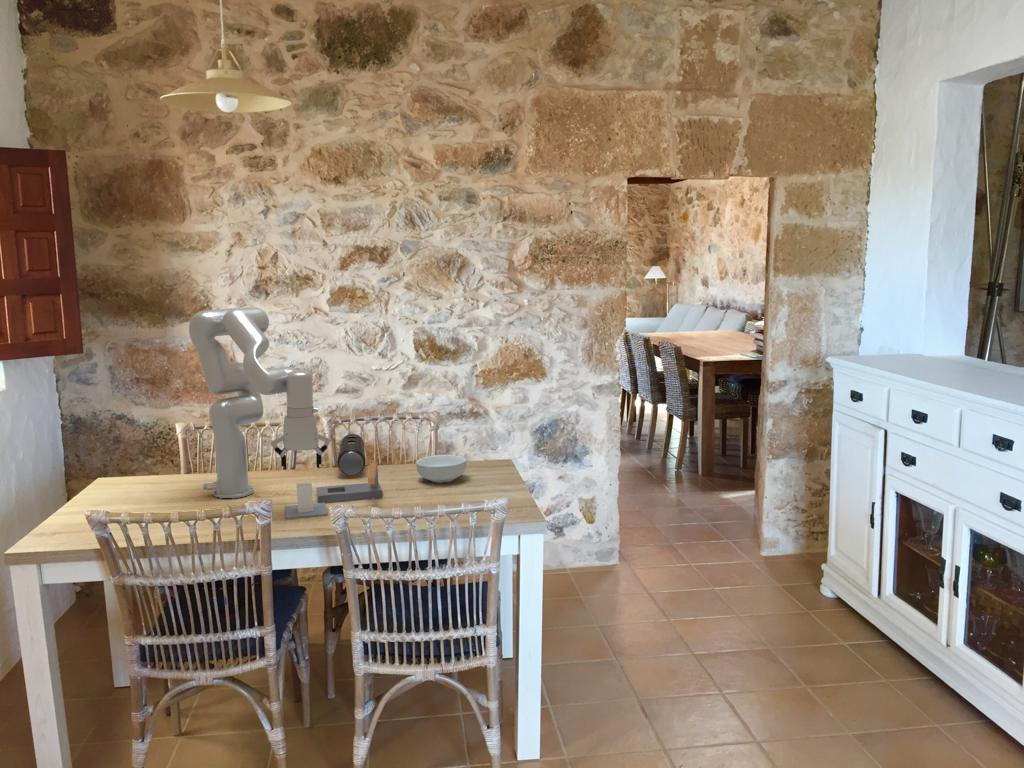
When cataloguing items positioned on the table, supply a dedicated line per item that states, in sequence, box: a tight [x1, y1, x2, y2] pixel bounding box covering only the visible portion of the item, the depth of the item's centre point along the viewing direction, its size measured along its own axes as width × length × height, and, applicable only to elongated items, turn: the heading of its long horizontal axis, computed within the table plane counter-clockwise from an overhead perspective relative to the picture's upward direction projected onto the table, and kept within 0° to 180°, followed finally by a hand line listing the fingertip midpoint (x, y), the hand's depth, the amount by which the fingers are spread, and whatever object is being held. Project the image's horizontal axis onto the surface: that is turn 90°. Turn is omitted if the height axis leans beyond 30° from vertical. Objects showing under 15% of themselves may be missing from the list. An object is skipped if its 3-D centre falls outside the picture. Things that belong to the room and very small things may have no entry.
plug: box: [296, 481, 314, 513], centre depth 256 cm, size 4×4×8 cm
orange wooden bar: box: [367, 460, 379, 484], centre depth 264 cm, size 20×3×2 cm, turn 7°
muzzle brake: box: [337, 433, 366, 476], centre depth 305 cm, size 10×28×10 cm, turn 10°
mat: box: [284, 502, 328, 520], centre depth 257 cm, size 12×12×1 cm
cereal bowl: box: [415, 454, 467, 484], centre depth 289 cm, size 17×17×7 cm
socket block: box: [316, 468, 384, 504], centre depth 271 cm, size 20×10×8 cm, turn 105°
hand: (301, 467), depth 255 cm, fingers open, 9 cm apart
